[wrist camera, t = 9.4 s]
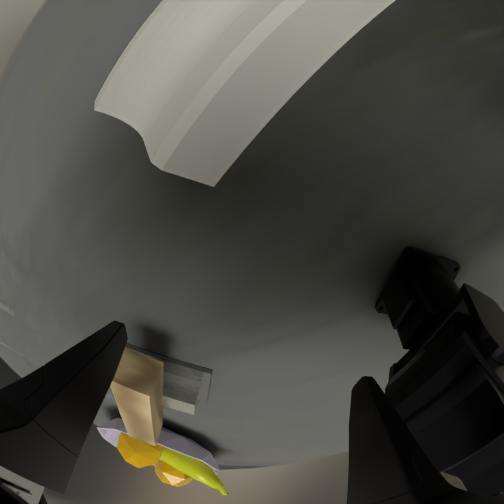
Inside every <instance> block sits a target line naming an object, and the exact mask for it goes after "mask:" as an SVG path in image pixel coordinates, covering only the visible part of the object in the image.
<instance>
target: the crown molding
mask: <svg viewBox="0 0 504 504" xmlns="http://www.w3.org/2000/svg"><path fill="white" fill-rule="evenodd" d="M394 1H395V0H163V1H162V2H161V3H160V4H159V5H158V6H157V8H156V9H155V10H154V11H153V12H152V14H151V15H150V16H149V17H148V19H147V20H146V21H145V22H144V24H143V25H142V26H141V28H140V29H139V30H138V32H137V33H136V34H135V36H134V37H133V39H132V40H131V42H130V43H129V44H128V46H127V47H126V49H125V50H124V52H123V53H122V55H121V56H120V58H119V60H118V61H117V63H116V64H115V66H114V68H113V69H112V71H111V73H110V74H109V76H108V78H107V79H106V81H105V83H104V85H103V87H102V88H101V90H100V92H99V94H98V96H97V98H96V100H95V107H94V110H96V111H99V112H102V113H105V114H108V115H110V116H113V117H115V118H117V119H120V120H122V121H124V122H125V123H127V124H129V125H130V126H131V127H133V128H134V129H135V130H136V131H137V132H138V133H139V134H140V135H141V137H142V138H143V140H144V143H145V146H146V149H147V152H148V155H149V158H150V161H151V163H153V164H154V165H155V166H156V167H158V168H159V169H160V170H162V171H165V172H168V173H172V174H175V175H178V176H181V177H184V178H188V179H191V180H194V181H197V182H200V183H203V184H206V185H209V186H212V187H214V186H215V185H216V184H217V182H218V181H219V180H220V179H221V177H222V176H223V175H224V174H225V172H226V171H227V170H228V169H229V168H230V166H231V165H232V164H233V163H234V161H235V160H236V159H237V158H238V157H239V155H240V154H241V153H242V152H243V151H244V149H245V148H246V147H247V146H248V145H249V144H250V142H251V141H252V140H253V139H254V138H255V137H256V135H257V134H258V133H259V132H260V131H261V130H262V129H263V127H264V126H265V125H266V124H267V123H268V122H269V121H270V120H271V118H272V117H273V116H274V115H275V114H276V113H277V112H278V111H279V110H280V108H281V107H282V106H283V105H284V104H285V103H286V102H287V101H288V100H289V99H290V98H291V97H292V96H293V95H294V93H295V92H296V91H297V90H298V89H299V88H300V87H301V86H302V85H303V84H304V83H305V82H306V81H307V80H308V79H309V78H310V77H311V76H312V75H313V74H314V73H315V72H316V71H317V70H318V69H319V68H320V67H321V66H322V65H323V64H324V63H325V62H326V61H327V60H328V59H329V58H330V57H331V56H332V55H333V54H334V53H335V52H336V51H337V50H339V49H340V48H341V47H342V46H343V45H344V44H345V43H346V42H347V41H348V40H349V39H350V38H352V37H353V36H354V35H355V34H356V33H357V32H358V31H359V30H360V29H362V28H363V27H364V26H365V25H366V24H367V23H368V22H370V21H371V20H372V19H373V18H374V17H375V16H377V15H378V14H379V13H380V12H381V11H383V10H384V9H385V8H386V7H388V6H389V5H390V4H391V3H393V2H394Z"/></svg>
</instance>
